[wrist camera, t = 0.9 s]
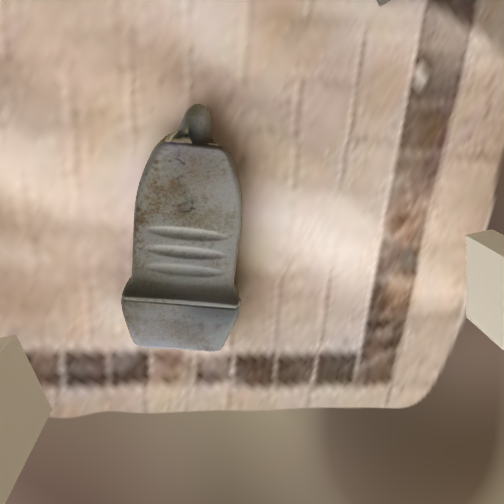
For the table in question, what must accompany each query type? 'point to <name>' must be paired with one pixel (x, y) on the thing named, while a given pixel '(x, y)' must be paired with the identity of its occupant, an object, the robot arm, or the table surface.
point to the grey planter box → (382, 2)
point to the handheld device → (185, 242)
